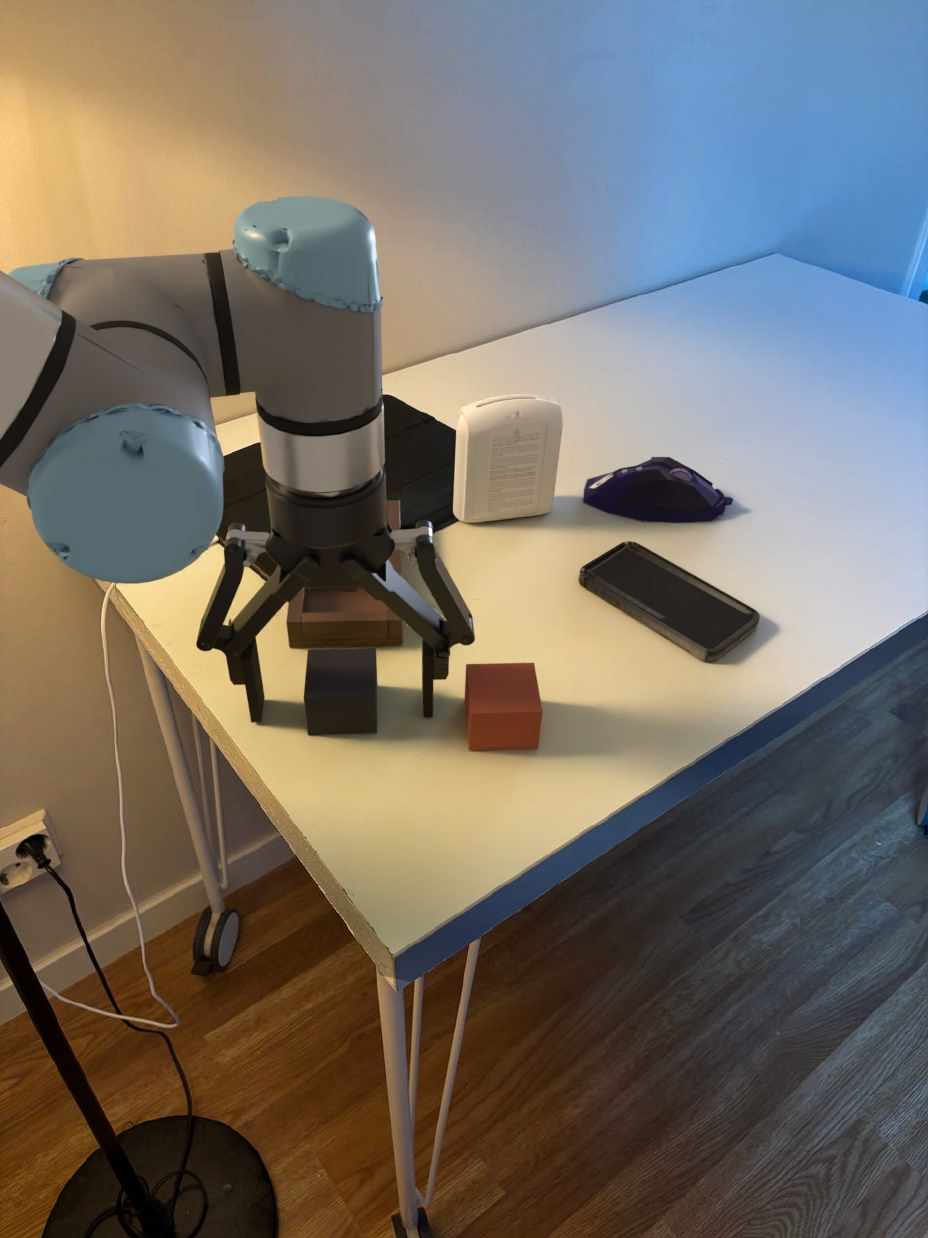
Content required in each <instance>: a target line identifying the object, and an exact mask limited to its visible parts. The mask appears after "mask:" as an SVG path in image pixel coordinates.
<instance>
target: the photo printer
mask: <svg viewBox="0 0 928 1238" xmlns="http://www.w3.org/2000/svg"><path fill="white" fill-rule="evenodd" d="M563 421H564V419H563V411H562V406H561V404H560V403H558V401H557V399H555V398H552V397H549V396H545V395H539V394H530V393H529V394H528V393H527V394H526V393H524V394H523V393H517V394H516V393H513V394H504V395H497V396H492V397H488V398H484V399H481V400H477V401H474V402H471V403H469V404H468V405H465V406H463V407H461V408H460V409H459V411H458V414H457V424H456V428H455V429H456V432H455V455H454V456H455V457H454V473H453V474H454V477H453V478H454V479H453V498H452V499H453V500H452V513H453V515H454V517H455V518H456V519H457V520H459V522H462V523H482V522H492V521H500V520H501V521H502V520H507V519H517V518H524V517H533V516H538V515H540V516H541V515H545V514H548V513H549V514H550V513H551V512H552V511H553V507H554V501H555V500H554V499H555V492H556V484H557V475H558V468H559V458H560V451H561V443H562V434H563V425H564V423H563Z"/></svg>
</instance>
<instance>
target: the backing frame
mask: <svg viewBox="0 0 928 1238" xmlns="http://www.w3.org/2000/svg"><path fill="white" fill-rule="evenodd" d="M386 506H387V521H388V524H389V525H390V527H391V528H392V529H393V530H402V529H401V527H402V526H401V500H395V499H394V500H387V499H386ZM388 560H389V561H390V563H391V564H392V567H393V569H394V570H395V571H396V572H397V573H398V574H399V575H400V576H401V577H402V576H403V575H402V574H403V573H402V569H403V568H402V552H401V551H399V550H394V552H393V554H392V555H391V557H390V558H389V559H388ZM402 578H403V577H402ZM285 622H286V623H285V624H286V630H287V637H288V638H287V639H288V647H289V648H330V647H331V648H332V647H333V648H335V647H336V648H337V647H380V646H381V647H382V646H383V647H385V646H403V645H404V621H403V620H402V619H401V618H399V617H398V616H397V615H396V614H395V613H394V612H393V611H392V610H391V609H390V608H389V607H388V606H387V605H386V604H384V603H383V602H382V601H381V600H379V601H377V600H375V599H374V598H373V597H372V596H371V595H370V594H369V593H368V592H367V591H366V590H364V589H363V588H362V587H360V588H357V589H356V592H341V591H336V590H331V591H327V592H322V593H311V592H310V589H306V588H304V587H303V588H302V589H301V590H300V591H299V593H298V594H297V595H296V596H295V597H294V598H293V599H292V600H291V601H290V602H289V603H288V605H287V613H286V621H285Z"/></svg>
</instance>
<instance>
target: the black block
mask: <svg viewBox="0 0 928 1238" xmlns="http://www.w3.org/2000/svg"><path fill="white" fill-rule="evenodd" d="M304 677H305V679H304V688H303V689H304V690H303V704H304V713H305V714H304V715H305V723H306V731H307V735H308V736H319V735H320V736H322V735H326V736H327V735H360V734H361V735H362V734H377V733H378V663H377V648H376V647H370V648H369V647H366V648H365V647H364V648H360V647H359V648H321V649H320V648H317V649H312V648H311V649H307V655H306V666H305V675H304Z"/></svg>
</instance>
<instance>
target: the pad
mask: <svg viewBox="0 0 928 1238" xmlns="http://www.w3.org/2000/svg"><path fill="white" fill-rule="evenodd" d="M464 681H465V682H464V701H463V702H464V708H465V709H464V711H465V721H466V723H465V724H466V733H467V744H468V751H469V752H472V751H473V752H474V751H506V750H507V751H509V750H538V749H539V746H540V736H541V727H542V721H543V714H544V712H543V706H542V700H541V695H540V688H539V682H538V677H537V670H536V665H535V662H504V663H503V662H500V663H466V664H465V678H464Z"/></svg>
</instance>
